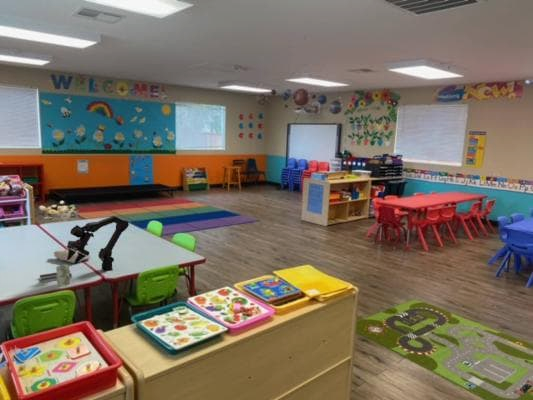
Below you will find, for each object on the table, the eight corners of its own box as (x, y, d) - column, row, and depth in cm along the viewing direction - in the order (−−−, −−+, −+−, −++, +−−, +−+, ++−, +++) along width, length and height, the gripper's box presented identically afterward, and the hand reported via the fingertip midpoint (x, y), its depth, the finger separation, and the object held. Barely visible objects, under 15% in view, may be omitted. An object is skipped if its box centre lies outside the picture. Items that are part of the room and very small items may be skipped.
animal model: (71, 235, 309) (52, 240, 295) (93, 252, 301) (74, 258, 287) (68, 248, 314) (49, 254, 300) (89, 265, 306) (71, 273, 292)
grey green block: (65, 282, 259) (65, 264, 257) (69, 283, 257) (68, 265, 255) (57, 285, 254) (56, 266, 251) (61, 286, 252) (60, 268, 250)
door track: (69, 273, 275) (69, 269, 274) (72, 277, 267) (71, 274, 266) (39, 277, 264) (39, 274, 264) (41, 282, 256) (41, 279, 256)
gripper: (66, 232, 266) (53, 254, 260) (81, 238, 255) (68, 260, 250) (79, 239, 274) (67, 260, 269) (94, 244, 264) (82, 266, 258)
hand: (71, 261), depth 261 cm, fingers open, 9 cm apart
